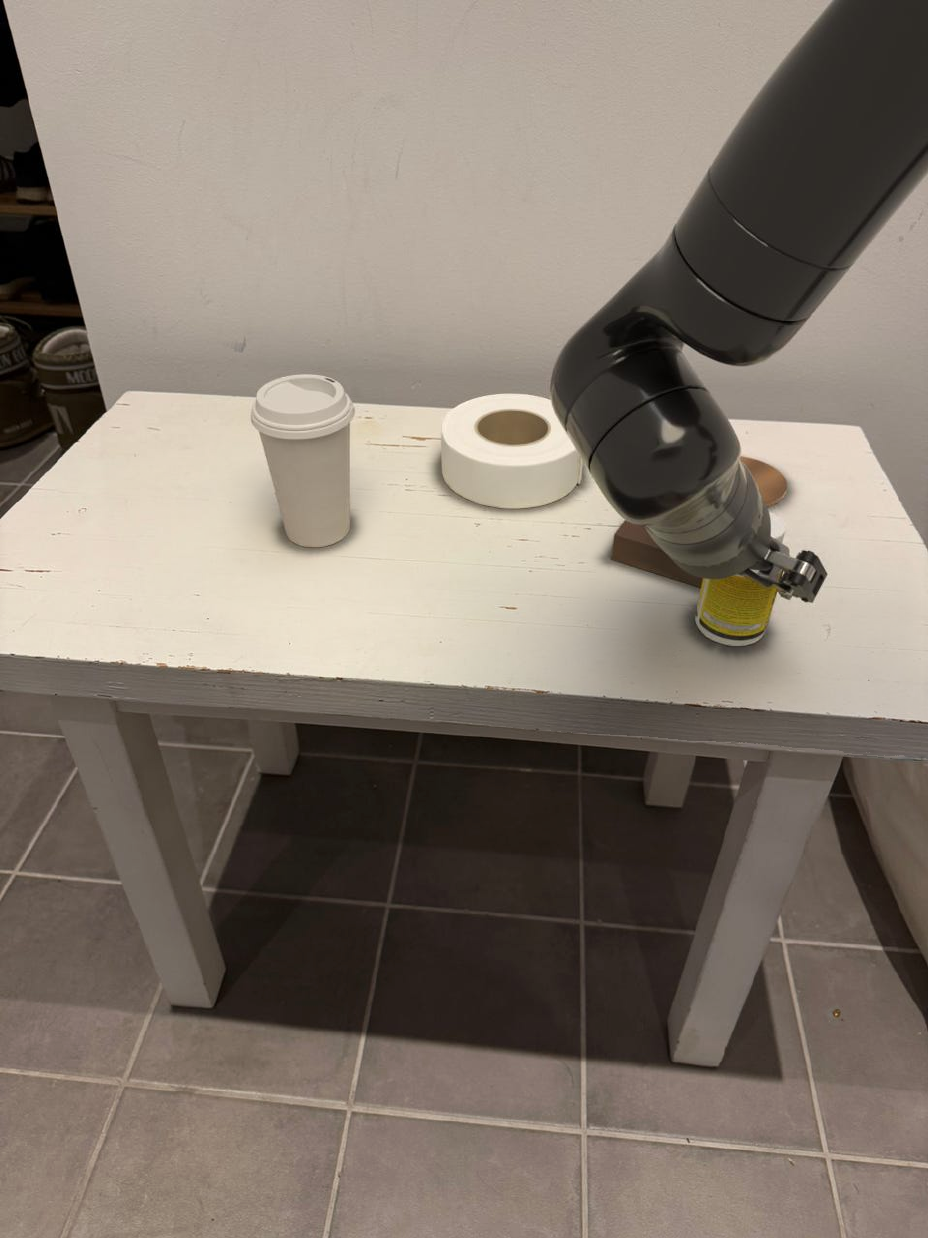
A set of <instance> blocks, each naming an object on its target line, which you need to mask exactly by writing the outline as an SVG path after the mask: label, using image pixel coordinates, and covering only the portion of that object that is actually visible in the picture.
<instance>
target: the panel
mask: <svg viewBox="0 0 928 1238" xmlns="http://www.w3.org/2000/svg"><path fill="white" fill-rule="evenodd" d="M615 531H616V532H614V534H613V540H612V548H611V554H610V555H611V556H610V560H613V561H617V562H618V563H622V564H624V565H629V566H632V567H634V568H638V569H641V570H644V571H648V572H650V573H654V574H657V575H659V576H662V577H663V576H664V577H666V578H668V579H669V578H670V579H672V580H675V581H679V582H682V583H685V584H688V585H691V586H695V587H698V588H701V586H702V581H703V578H700V577H696V576H694V575H691V574H689V573H687V572H686V571H684V570H683V569H681V568H680V567H679V566H678V565H677V564H676V563H675V562H674V561H673V560H672V559H671V558H670V557H669V556H668V555H667V554H666V553H665V552H664V551H663V550H662V549H661V548H660V547H659V546H658V545H657V544H656V543H655V542H654V540H653V539H652V538H651V536H650V535H649V534H648V533H647V532H646V531H645V530H644V528H643V527H642V526H641V525H635V524H632V523H629V522H627V521H626V520H625V519H624V521H623V522H621V525H620V526H619V527H618V528H617V529H616V530H615Z"/></svg>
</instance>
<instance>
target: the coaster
mask: <svg viewBox="0 0 928 1238" xmlns="http://www.w3.org/2000/svg"><path fill="white" fill-rule="evenodd" d="M740 460H741V461H742V462H743V463H744V464H745V465H746V466H747V468H748V469H749V471H750V472H751V474H752V476H753V478H754V480H755V482H756V484H757V486H758V488H759V490H760V493H761V495H762V497H763V499H764V501H765V503H766V505H767V507H770V506H773V505H775V504H777V503H779V502H781V501H782V500H783V499H784V497H785V496H786V493H787V490H788V482H787V479H786V478H785V476H784V475H783V473H781V472H780V471H779V470H778V469H777V468H775V467H774V466H772V465H771V464H768V463H766V462H764V461H762V460H760V459H759V460H758V459H756V458H751V457H748V456H742V455H741V456H740Z"/></svg>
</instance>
